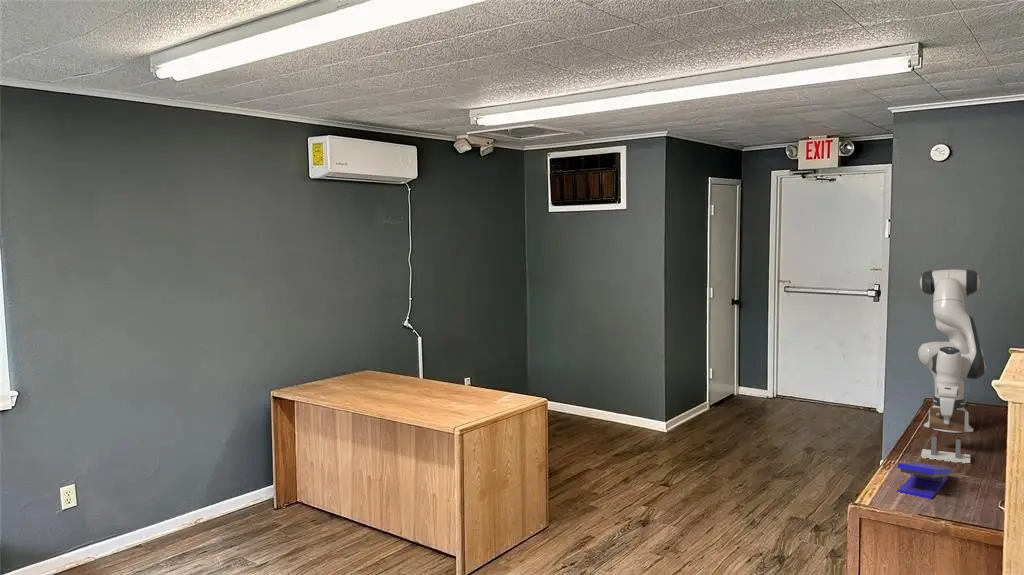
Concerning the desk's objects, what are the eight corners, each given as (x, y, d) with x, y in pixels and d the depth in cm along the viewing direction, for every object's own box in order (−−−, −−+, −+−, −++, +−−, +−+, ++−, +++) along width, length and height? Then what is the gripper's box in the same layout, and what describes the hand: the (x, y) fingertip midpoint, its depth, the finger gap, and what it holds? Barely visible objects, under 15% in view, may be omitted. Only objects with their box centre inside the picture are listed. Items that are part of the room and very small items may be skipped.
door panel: (929, 426, 295) (930, 406, 294) (964, 430, 289) (965, 410, 288) (928, 428, 292) (929, 409, 291) (964, 432, 285) (964, 412, 285)
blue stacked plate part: (895, 493, 244) (896, 464, 243) (915, 472, 265) (916, 445, 264) (934, 500, 236) (935, 471, 236) (952, 479, 257) (952, 451, 257)
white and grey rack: (922, 452, 288) (922, 435, 287) (970, 458, 279) (970, 440, 279) (921, 457, 281) (921, 440, 281) (970, 464, 273) (970, 445, 272)
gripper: (939, 382, 299) (938, 415, 301) (938, 392, 282) (936, 427, 283) (957, 384, 296) (956, 417, 297) (957, 394, 279) (955, 429, 280)
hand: (946, 422), depth 290 cm, fingers closed on door panel, 3 cm apart
